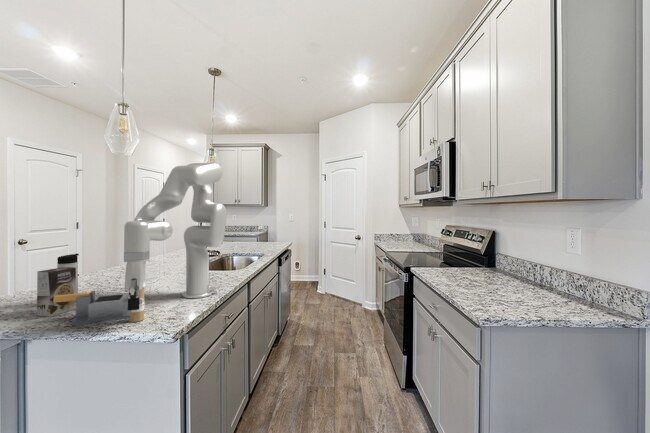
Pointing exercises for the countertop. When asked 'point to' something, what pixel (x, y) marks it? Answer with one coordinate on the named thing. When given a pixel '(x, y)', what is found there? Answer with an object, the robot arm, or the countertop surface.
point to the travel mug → (69, 264)
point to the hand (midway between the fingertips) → (136, 305)
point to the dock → (101, 308)
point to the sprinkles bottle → (139, 314)
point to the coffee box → (55, 290)
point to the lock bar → (73, 296)
